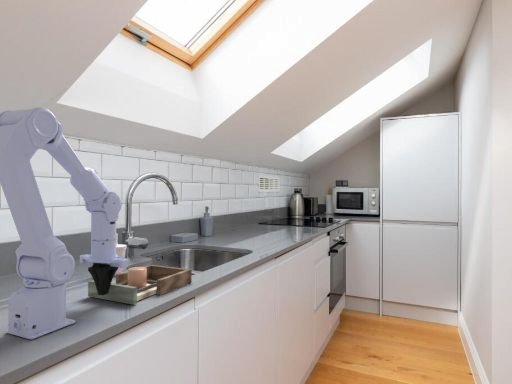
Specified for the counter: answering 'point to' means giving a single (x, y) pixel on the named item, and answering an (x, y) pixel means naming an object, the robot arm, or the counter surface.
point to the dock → (163, 277)
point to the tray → (124, 292)
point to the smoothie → (120, 253)
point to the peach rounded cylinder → (137, 277)
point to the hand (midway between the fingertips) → (103, 294)
